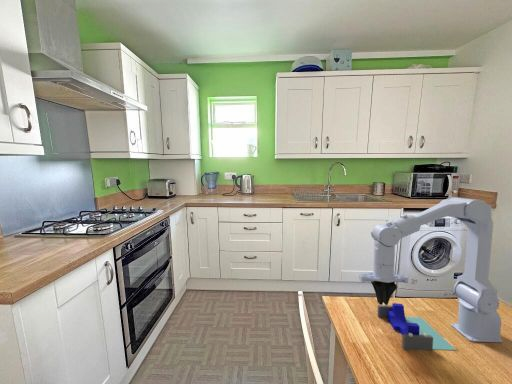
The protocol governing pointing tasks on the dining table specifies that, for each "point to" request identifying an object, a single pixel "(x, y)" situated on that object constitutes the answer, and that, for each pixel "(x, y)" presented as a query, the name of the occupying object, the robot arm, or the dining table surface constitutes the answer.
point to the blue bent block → (401, 320)
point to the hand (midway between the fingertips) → (382, 303)
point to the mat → (430, 333)
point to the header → (409, 340)
